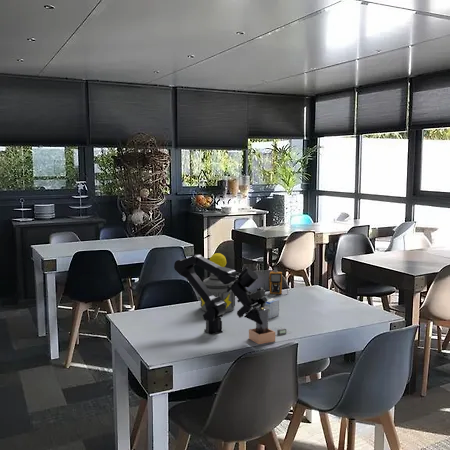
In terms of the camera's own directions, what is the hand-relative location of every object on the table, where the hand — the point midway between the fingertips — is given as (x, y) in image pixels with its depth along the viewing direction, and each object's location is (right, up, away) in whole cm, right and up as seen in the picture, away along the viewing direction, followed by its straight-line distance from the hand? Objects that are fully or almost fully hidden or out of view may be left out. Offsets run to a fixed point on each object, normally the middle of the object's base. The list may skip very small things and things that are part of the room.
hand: (264, 322), depth 210 cm
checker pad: (+6, -7, +13) cm, 16 cm away
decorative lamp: (-21, -3, +53) cm, 57 cm away
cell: (-1, -6, +1) cm, 7 cm away
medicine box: (+6, -5, +38) cm, 38 cm away
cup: (-1, -8, +1) cm, 8 cm away
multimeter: (+13, 0, +83) cm, 85 cm away
